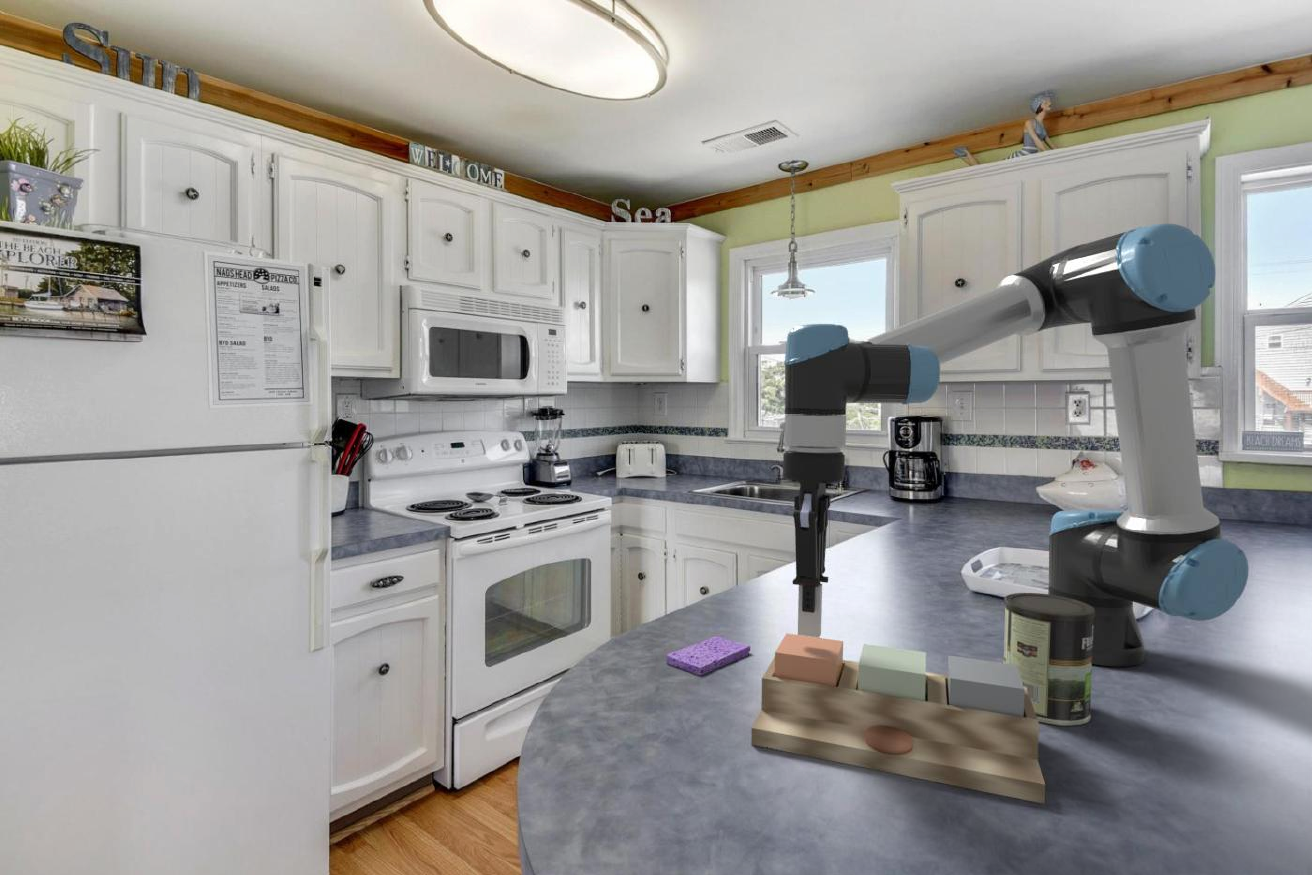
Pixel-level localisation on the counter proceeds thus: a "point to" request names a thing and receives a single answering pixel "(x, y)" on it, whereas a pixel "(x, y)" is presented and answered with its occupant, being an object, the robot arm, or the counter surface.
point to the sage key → (892, 672)
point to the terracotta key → (809, 659)
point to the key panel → (903, 733)
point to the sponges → (707, 655)
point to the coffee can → (1052, 654)
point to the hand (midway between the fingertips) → (809, 634)
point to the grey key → (985, 686)
